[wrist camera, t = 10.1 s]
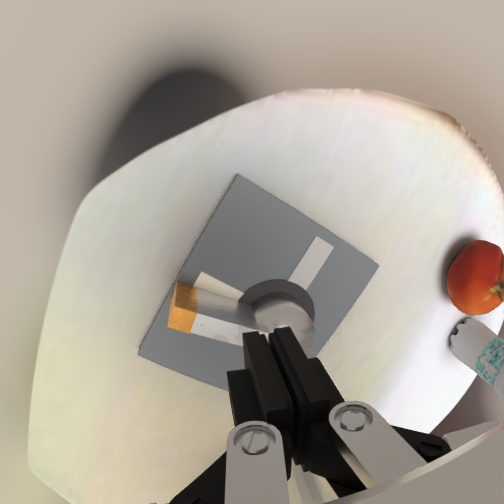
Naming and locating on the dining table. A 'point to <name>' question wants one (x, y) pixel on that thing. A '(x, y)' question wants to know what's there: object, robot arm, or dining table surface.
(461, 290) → the tomato
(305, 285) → the panel
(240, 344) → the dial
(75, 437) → the dining table surface
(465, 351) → the bottle
